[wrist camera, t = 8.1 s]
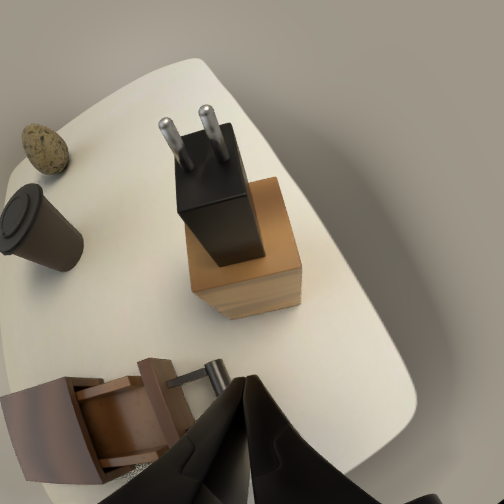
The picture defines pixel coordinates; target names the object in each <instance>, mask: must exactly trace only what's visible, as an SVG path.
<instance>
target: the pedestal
mask: <svg viewBox="0 0 504 504" xmlns="http://www.w3.org/2000/svg"><path fill="white" fill-rule="evenodd" d="M249 186H250V190H251V193H252V197H253V201H254V206H255V210H256V214H257V219H258V223H259V227H260V232H261V236H262V240H263V245H264V249H265V254H266V256H265V257H262V258H257V259H253V260H249V261H245V262H240V263H236V264H232V265H228V266H223V267H218V265H217V264H216V263H215V261H214V260H213V259H212V258H211V256H210V255H209V254H208V252H207V251H206V250H205V249H204V247H203V246H202V245H201V243H200V242H199V241H198V239H197V238H196V237H195V236H194V234H193V233H192V232H191V230H190V229H189V228H188V226H187V225H186V224H185V234H186V244H187V254H188V263H189V272H190V280H191V289H192V292H193V293H194V294H195V295H197V296H198V297H200V298H201V299H202V300H204V301H205V302H206V303H208V304H209V305H211V306H212V307H213V308H215V309H216V310H218V311H219V312H221V313H222V314H223V315H225V316H226V317H228V318H229V319H231V320H232V319H237V318H242V317H247V316H251V315H256V314H260V313H265V312H269V311H274V310H278V309H283V308H287V307H291V306H295V305H299V304H301V282H302V264H301V261H300V257H299V253H298V250H297V246H296V242H295V239H294V235H293V232H292V228H291V224H290V221H289V217H288V214H287V211H286V207H285V204H284V200H283V197H282V194H281V190H280V187H279V184H278V180H277V177H272V178H267V179H263V180H259V181H255V182H251V183H249ZM184 223H185V222H184Z"/></svg>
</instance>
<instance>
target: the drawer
mask: <svg viewBox="0 0 504 504" xmlns="http://www.w3.org/2000/svg"><path fill="white" fill-rule="evenodd" d="M137 364H138V367H139V371H140V374H141V376H125V377H122V378H119V379H116V380H113V381H110V382H107V383H104V384H101V385H97V386H94V387H91V388H88V389H84V390H81V391H78V392H75V395H76V399H77V402H78V405H79V409H80V412H81V415H82V418H83V421H84V424H85V427H86V429H87V432H88V435H89V438H90V440H91V443H92V445H93V448H94V450H95V453H96V455H97V458H98V460H99V462H100V465H101V467H102V468H106V467H116V466H125V465H133V464H140V463H147V462H153V461H156V460H157V459H159V458H160V457H161V456H162V455H163V454H164V453H166V452H167V451H168V450H169V449H170V448H171V447H172V446H173V445H174V444H175V443H176V442H177V441H178V440H179V439H180V438H181V437H182V436H183V435H184V434H186V432H187V431H188V430H189V429H190V428H191V427H192V426H193V425H194V423H195V421H194V419H193V417H192V414H191V412H190V409H189V407H188V405H187V402H186V400H185V397H184V395H183V392H182V390H181V387H180V385H183V384H186V383H189V382H192V381H194V380H197V379H200V378H203V377H205V376H208V377H209V379H210V382H211V384H212V387H213V389H214V391H215V394H216V396H217V398H218V397H219V395H220V394H221V393H222V392H223V391H224V390H225V388H226V387H227V386H228V385H229V384H230V383H231V380H230V377H229V375H228V373H227V370H226V368H225V365H224V363H223V360H222V359H218V360H214V361H211V362H209V363H207V364H205V365H204V367H205V368H202V369H200V370H197V371H194V372H191V373H189V374H186V375H183V376H180V377H177V376H176V374H175V371H174V368H173V365H172V363H171V360H166V359H156V358H147V359H145V360H142V361H139V362H137Z"/></svg>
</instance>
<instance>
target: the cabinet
mask: <svg viewBox="0 0 504 504" xmlns="http://www.w3.org/2000/svg"><path fill="white" fill-rule="evenodd" d="M101 384H104V382H103V379H97V378H76V377H62V378H59V379H56V380H53V381H50V382H47V383H44V384H41V385H38V386H35V387H32V388H29V389H25V390H22V391H19V392H15V393H12V394H9V395H5V396H2V397H0V401H1V406H2V410H3V414H4V418H5V421H6V425H7V428H8V432H9V435H10V438H11V442H12V445H13V448H14V450H15V453H16V456H17V459H18V461H19V464H20V467H21V469H22V472H23V474H24V476H25V479H26V481H35V482H44V483H57V484H105V483H107V482H109V481H111V480H113V479H116V478H118V477H120V476H122V475H124V474H126V473H128V472H130V471H132V470H134V469H136V467H135V465H134V464H133V465H125V466H116V467H106V468H102V467H101V465H100V462H99V460H98V458H97V455H96V453H95V450H94V448H93V445H92V443H91V440H90V438H89V435H88V432H87V429H86V427H85V424H84V421H83V418H82V415H81V412H80V409H79V405H78V402H77V399H76V395H75V392H78V391H81V390H84V389H88V388H91V387H94V386H97V385H101Z"/></svg>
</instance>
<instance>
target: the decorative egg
mask: <svg viewBox="0 0 504 504" xmlns="http://www.w3.org/2000/svg"><path fill="white" fill-rule="evenodd" d="M22 143H23V147H24V150H25V153H26V155H27V157H28V159H29V160H30V162H31V163H32V165H33V166H34V167H35V168H36V169H37V170H38V171H39V172H41V173H43V174H46V175H54V174H57V173H59V172H61V171H62V170H63V169H64V168H65V166H66V164H67V162H68V158H69V152H68V147H67V145H66V143H65V141H64V140H63V139H62V138H61V137H60V136H59V135H58V134H57V133H56V132H54V131H53V130H51V129H49V128H47V127H45V126H42V125H39V124H30V125H28V126H26V127H25V128H24V130H23V132H22Z"/></svg>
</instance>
